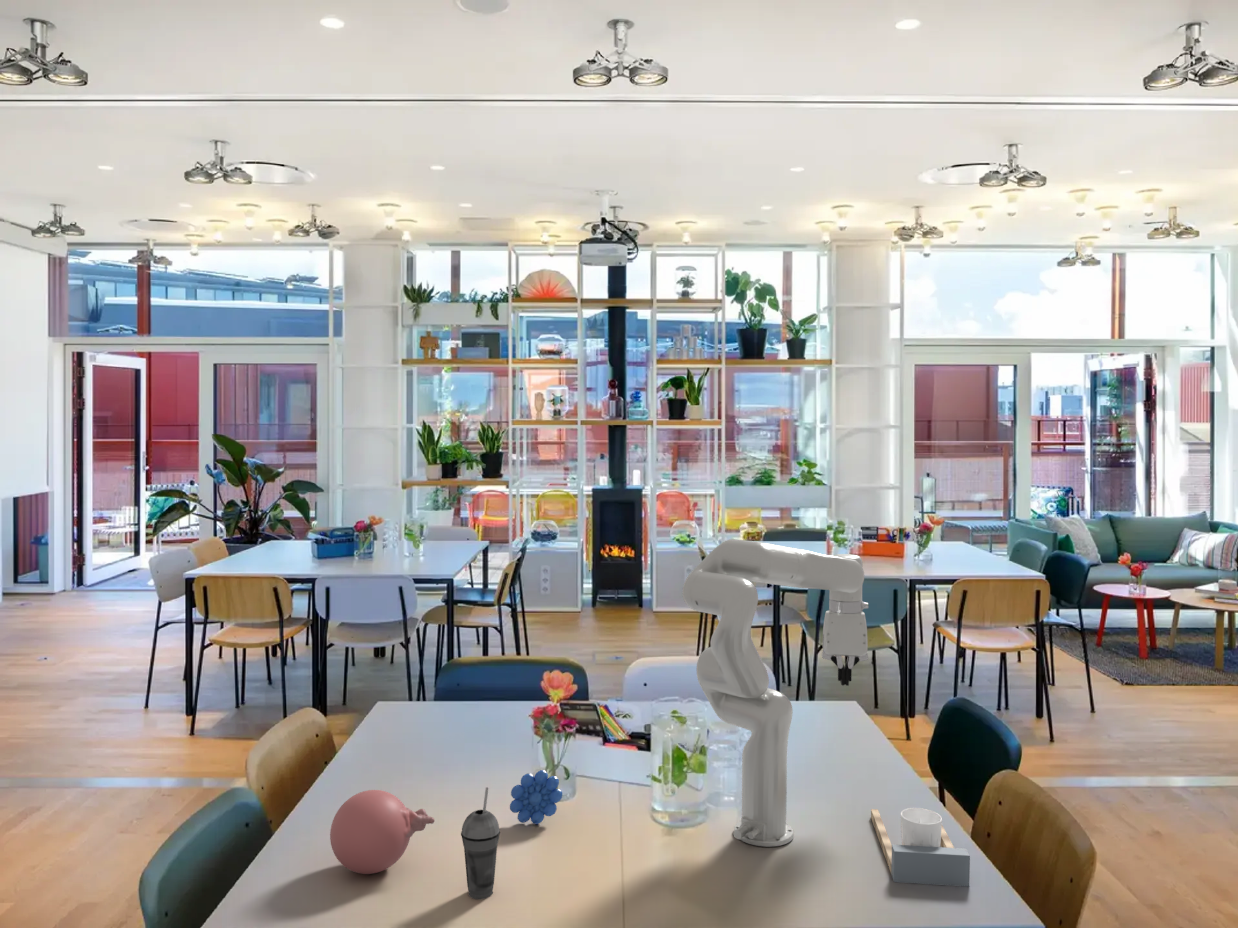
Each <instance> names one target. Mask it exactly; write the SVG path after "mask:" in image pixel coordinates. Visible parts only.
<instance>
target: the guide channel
mask: <svg viewBox="0 0 1238 928" xmlns="http://www.w3.org/2000/svg"><path fill="white" fill-rule="evenodd" d="M870 819H871V821H872V826H873V827H874V830H875V833H876V835H877V838H878V841H879V845H880V846H881V850H882V852H883V856H884V858H885V860H886V864H887V867H888V866H889V867H888V869H889V872H890V873H891V866H892V843H891V839H890V838H889V835H888V833H887V829H886V827H885V825H884V821H883V819H882V817H881V814H880V812H879V809H875V808H871V809H870ZM940 847H945V848H955V845H953V843H952V841H951V839H950V836H949V835H948V833H947V832H946V829H945V828H944V826H943V825H942V828H941V843H940Z"/></svg>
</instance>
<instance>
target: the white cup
mask: <svg viewBox="0 0 1238 928" xmlns="http://www.w3.org/2000/svg"><path fill="white" fill-rule="evenodd" d="M942 826H943V818H942V815H941V814H939V813H938V812H936V811H934V810H931V809H927V808H922V807H909V808H905V809H903V810H901V811H900V829H901V830H900V832H901V833H900V835H901V836H900V837H901V845H910V846H928V847H941V845H940V843H941V828H942Z"/></svg>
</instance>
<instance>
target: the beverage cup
mask: <svg viewBox="0 0 1238 928" xmlns="http://www.w3.org/2000/svg"><path fill="white" fill-rule="evenodd" d="M488 793H489V787H485V791H484V797H483V798H484V800H483V807H482V809H477V810H474V811H472V812H471V813H469V814H468V815H467V816H466V818H465V820H464V821H463V824H462V827H461V831H460V836H461V840H462V845H463V851H464V860H465V861H464V862H465V873H466V874H465V875H466V886H467V890H468V891H467V892H468V893H467V894H468V897H469V898H471V899H473V900H485V899H488V898H489V897H492V895H493V892H494V891H493V890H494V885H495V875H496V874H495V873H496V866H497V865H496V864H497V853H498V852H497V851H498V844H499V841H500V834H501V831H500V830H501V829H500V826H499V825H500V824H499V822H498V819H497V818H496V816H495V815H494V814H493V813H492V812H491V811H489V810H487V803H488V802H487V801H488V796H489V795H488Z"/></svg>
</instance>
